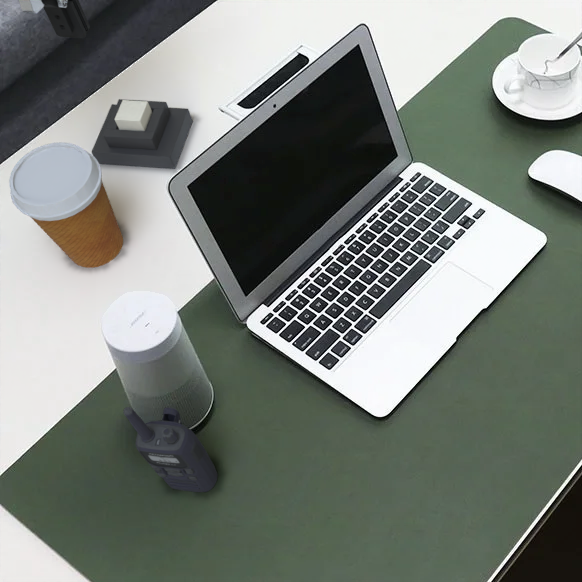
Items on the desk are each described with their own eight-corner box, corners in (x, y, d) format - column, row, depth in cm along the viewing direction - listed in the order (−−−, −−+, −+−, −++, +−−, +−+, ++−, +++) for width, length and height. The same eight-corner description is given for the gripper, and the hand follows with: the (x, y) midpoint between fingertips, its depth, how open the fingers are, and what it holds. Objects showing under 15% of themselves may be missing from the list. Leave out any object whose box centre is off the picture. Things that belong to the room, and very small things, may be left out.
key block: (98, 165, 102) (84, 141, 98) (118, 117, 106) (106, 92, 102) (175, 170, 101) (165, 146, 97) (193, 121, 104) (183, 96, 101)
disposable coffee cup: (131, 278, 93) (88, 206, 83) (48, 282, 94) (-5, 211, 83) (142, 212, 98) (103, 135, 87) (63, 216, 98) (15, 141, 88)
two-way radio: (162, 490, 81) (102, 422, 68) (174, 449, 83) (118, 375, 70) (217, 496, 80) (166, 429, 67) (227, 454, 82) (181, 381, 69)
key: (119, 130, 99) (114, 119, 98) (127, 111, 101) (122, 99, 99) (145, 132, 99) (139, 120, 97) (152, 112, 100) (147, 101, 99)
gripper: (-18, -199, 76) (65, -15, 92) (-88, -102, 69) (14, 79, 85) (59, -197, 75) (129, -12, 91) (-4, -98, 68) (83, 84, 84)
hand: (74, 32), depth 88 cm, fingers closed
